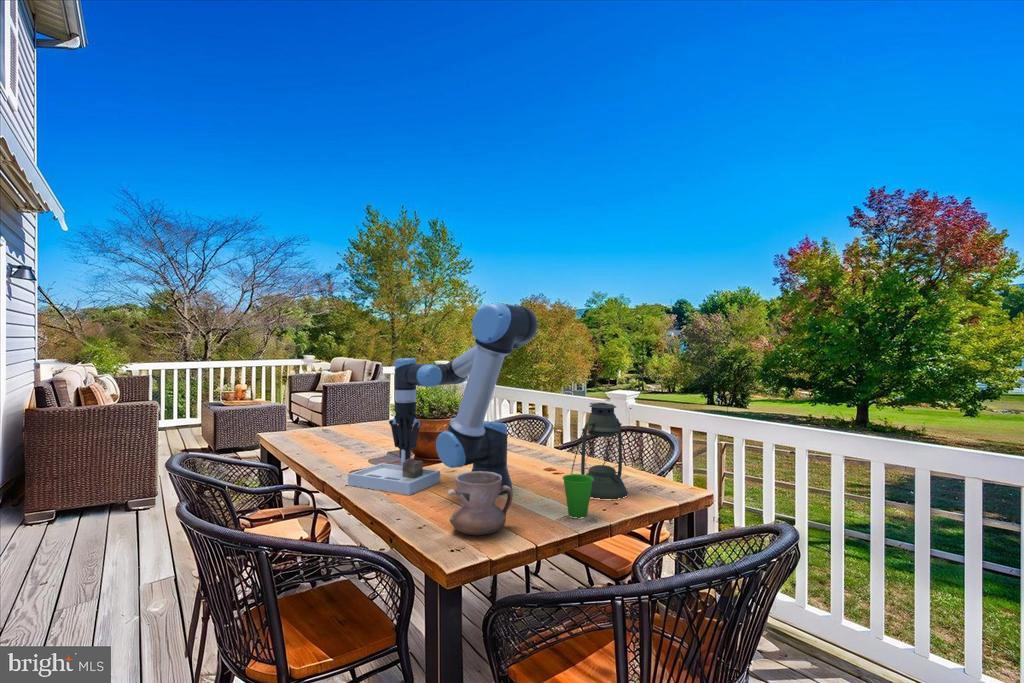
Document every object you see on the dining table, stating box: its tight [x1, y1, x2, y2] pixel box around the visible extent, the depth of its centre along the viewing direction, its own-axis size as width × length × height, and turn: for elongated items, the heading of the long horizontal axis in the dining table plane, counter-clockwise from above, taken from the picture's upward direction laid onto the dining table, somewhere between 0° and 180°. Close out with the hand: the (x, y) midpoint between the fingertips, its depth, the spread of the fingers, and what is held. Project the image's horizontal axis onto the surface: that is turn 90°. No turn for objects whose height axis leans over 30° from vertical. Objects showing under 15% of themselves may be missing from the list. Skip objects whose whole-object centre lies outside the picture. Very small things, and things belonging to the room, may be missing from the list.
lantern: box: [570, 402, 629, 499], centre depth 168 cm, size 21×18×30 cm
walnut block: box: [403, 459, 424, 478], centre depth 177 cm, size 5×5×5 cm
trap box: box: [347, 462, 441, 496], centre depth 176 cm, size 26×18×4 cm
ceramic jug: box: [446, 471, 514, 536], centre depth 133 cm, size 18×14×14 cm
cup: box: [562, 473, 594, 518], centre depth 145 cm, size 9×9×11 cm
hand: (405, 467), depth 178 cm, fingers closed
